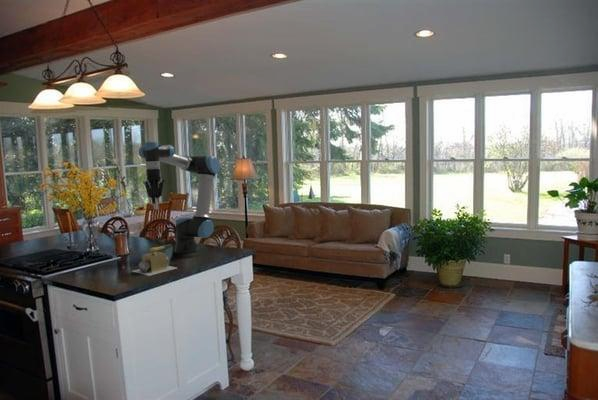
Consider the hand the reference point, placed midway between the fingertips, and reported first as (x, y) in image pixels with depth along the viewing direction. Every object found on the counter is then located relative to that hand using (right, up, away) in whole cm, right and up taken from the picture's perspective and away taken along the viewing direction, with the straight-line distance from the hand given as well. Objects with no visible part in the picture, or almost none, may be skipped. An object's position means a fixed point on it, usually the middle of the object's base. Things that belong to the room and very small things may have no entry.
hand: (156, 209), depth 278 cm
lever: (+3, -23, -2) cm, 23 cm away
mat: (+1, -35, -5) cm, 35 cm away
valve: (+1, -35, -5) cm, 35 cm away
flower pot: (0, -33, +15) cm, 36 cm away
